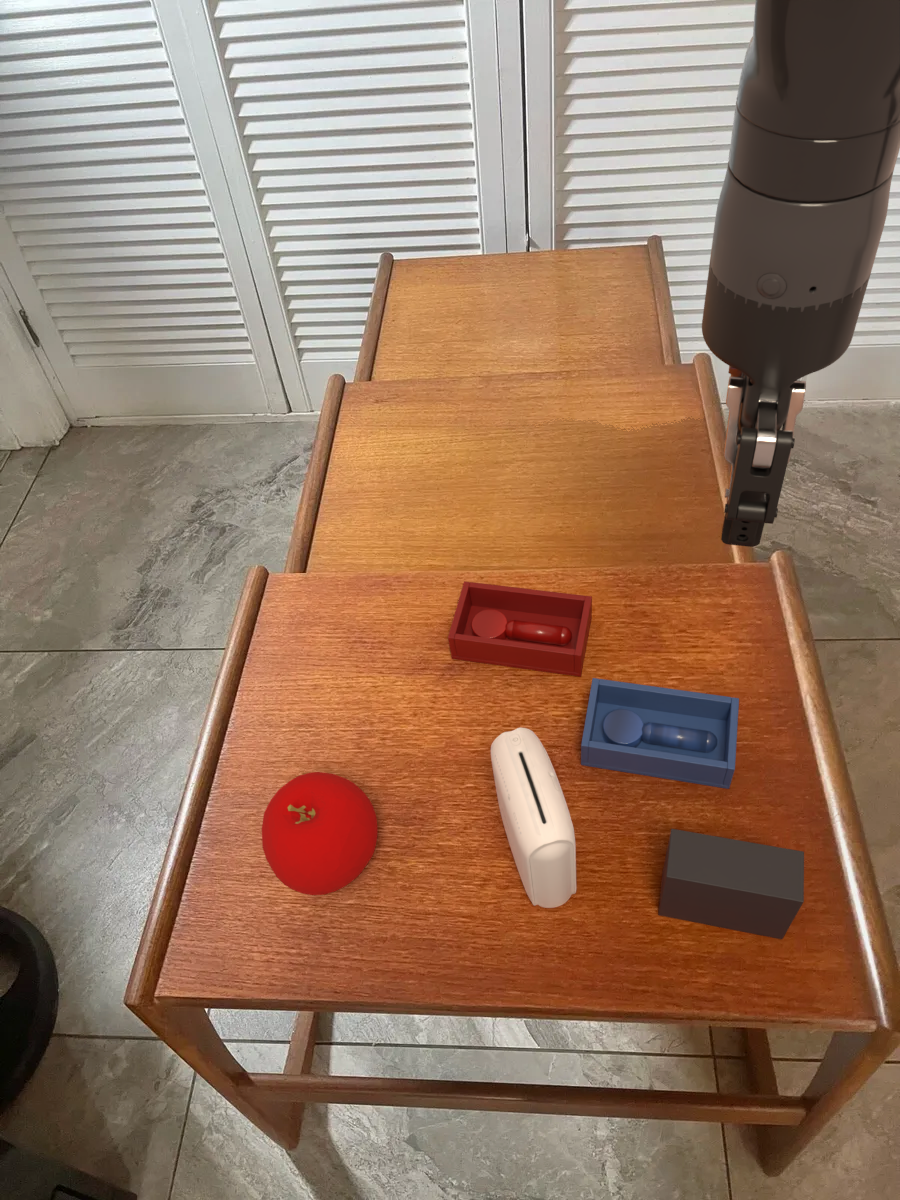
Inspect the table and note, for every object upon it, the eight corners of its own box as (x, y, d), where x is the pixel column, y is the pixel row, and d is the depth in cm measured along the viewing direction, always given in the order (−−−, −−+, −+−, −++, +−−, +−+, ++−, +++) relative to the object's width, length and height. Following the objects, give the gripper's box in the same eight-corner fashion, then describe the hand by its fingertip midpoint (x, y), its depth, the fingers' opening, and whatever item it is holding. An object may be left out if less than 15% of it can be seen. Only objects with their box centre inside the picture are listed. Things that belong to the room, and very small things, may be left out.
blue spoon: (717, 730, 77) (720, 720, 76) (714, 766, 75) (717, 756, 74) (605, 714, 79) (605, 703, 78) (600, 748, 77) (600, 737, 76)
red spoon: (574, 628, 85) (574, 616, 84) (569, 657, 83) (569, 646, 82) (476, 615, 87) (475, 604, 86) (469, 644, 85) (467, 633, 84)
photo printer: (493, 798, 76) (480, 725, 66) (541, 784, 76) (536, 709, 67) (530, 916, 70) (522, 854, 60) (583, 900, 70) (584, 836, 60)
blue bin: (733, 719, 78) (739, 697, 75) (729, 789, 74) (735, 769, 71) (592, 698, 81) (592, 677, 78) (580, 765, 77) (581, 745, 74)
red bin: (591, 618, 86) (592, 596, 83) (581, 677, 82) (581, 655, 80) (467, 603, 89) (464, 580, 86) (451, 659, 85) (447, 637, 82)
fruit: (294, 796, 78) (262, 740, 70) (395, 807, 76) (374, 751, 69) (263, 901, 73) (225, 853, 65) (371, 916, 71) (346, 869, 63)
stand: (783, 892, 69) (804, 851, 62) (782, 939, 67) (803, 902, 60) (662, 870, 71) (671, 828, 64) (658, 915, 69) (666, 876, 62)
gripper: (880, 351, 39) (805, 585, 52) (868, 179, 47) (806, 418, 60) (700, 342, 41) (671, 571, 53) (719, 178, 49) (690, 410, 61)
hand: (742, 490), depth 57 cm, fingers open, 8 cm apart
